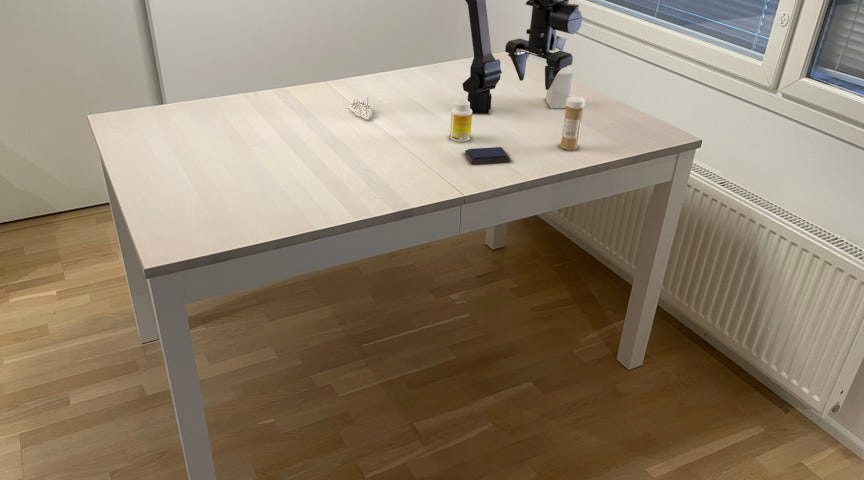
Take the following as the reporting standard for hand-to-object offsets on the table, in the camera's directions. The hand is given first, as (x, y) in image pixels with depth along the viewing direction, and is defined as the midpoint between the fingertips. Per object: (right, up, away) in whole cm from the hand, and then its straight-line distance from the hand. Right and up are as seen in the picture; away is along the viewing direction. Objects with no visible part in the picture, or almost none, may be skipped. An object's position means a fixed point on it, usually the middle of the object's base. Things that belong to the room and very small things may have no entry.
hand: (534, 84), depth 194 cm
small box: (+12, 0, +25) cm, 27 cm away
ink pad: (-14, -21, -9) cm, 27 cm away
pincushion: (-47, -4, +17) cm, 50 cm away
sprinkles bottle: (+9, -17, -2) cm, 20 cm away
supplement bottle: (-20, -14, +2) cm, 25 cm away
